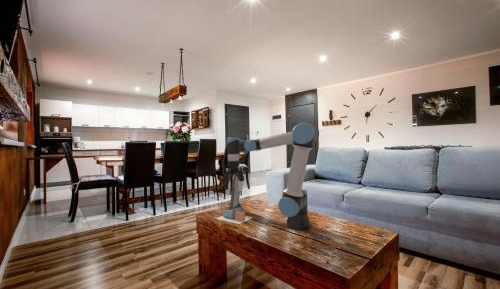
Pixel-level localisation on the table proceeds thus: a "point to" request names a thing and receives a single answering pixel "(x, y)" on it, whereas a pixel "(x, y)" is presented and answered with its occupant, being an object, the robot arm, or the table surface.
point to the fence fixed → (229, 213)
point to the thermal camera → (236, 195)
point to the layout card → (234, 219)
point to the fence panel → (240, 215)
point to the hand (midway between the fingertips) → (234, 192)
